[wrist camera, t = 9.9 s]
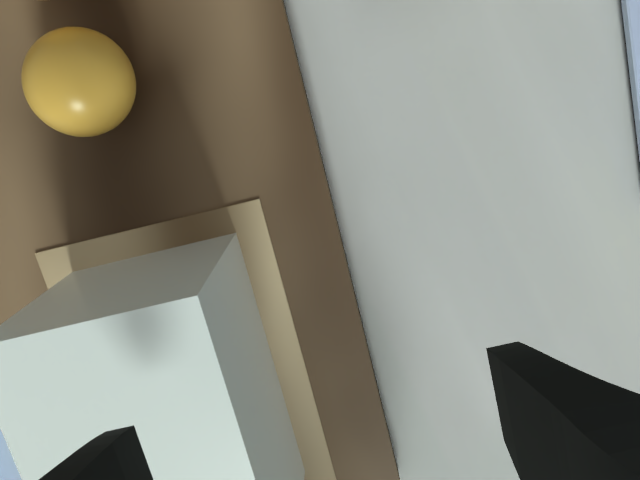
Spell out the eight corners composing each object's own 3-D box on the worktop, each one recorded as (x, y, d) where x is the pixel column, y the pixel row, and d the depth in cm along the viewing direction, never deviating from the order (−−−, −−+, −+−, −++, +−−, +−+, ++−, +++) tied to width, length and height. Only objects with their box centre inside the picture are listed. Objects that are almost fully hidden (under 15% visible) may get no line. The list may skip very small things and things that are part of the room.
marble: (131, 20, 18) (93, 7, 15) (161, 120, 19) (130, 126, 16) (36, 45, 18) (-19, 37, 15) (70, 143, 19) (23, 153, 16)
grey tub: (236, 232, 19) (197, 295, 14) (304, 470, 22) (296, 611, 16) (72, 272, 20) (-34, 349, 14) (155, 501, 22) (94, 651, 16)
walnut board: (222, -249, 17) (215, -271, 16) (398, 471, 23) (401, 490, 22) (-166, -134, 18) (-197, -148, 17) (98, 533, 24) (87, 554, 23)
